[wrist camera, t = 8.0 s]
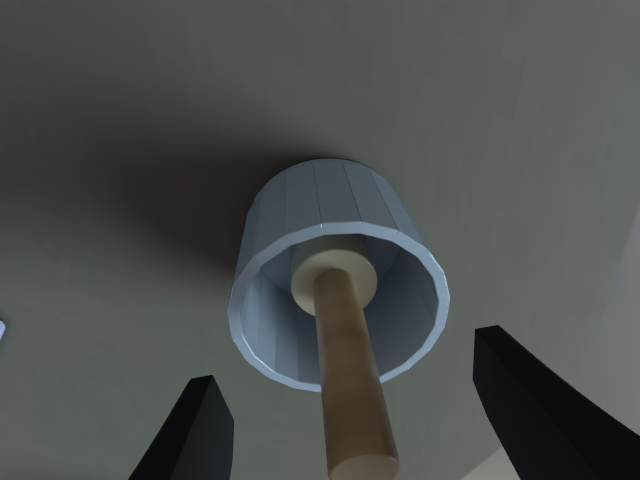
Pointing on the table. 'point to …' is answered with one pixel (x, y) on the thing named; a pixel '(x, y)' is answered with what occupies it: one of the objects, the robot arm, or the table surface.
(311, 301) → the brush
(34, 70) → the table surface
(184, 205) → the table surface
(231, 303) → the blue pencil cup
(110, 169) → the table surface
